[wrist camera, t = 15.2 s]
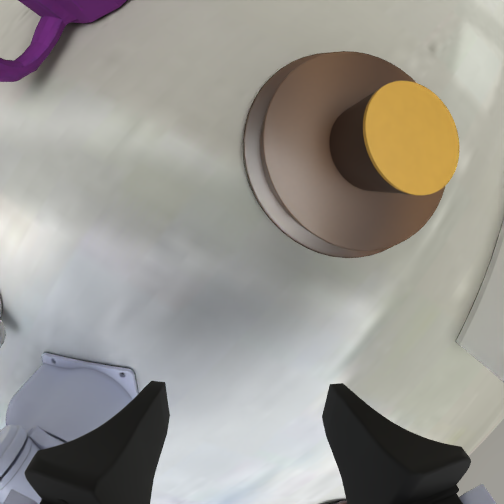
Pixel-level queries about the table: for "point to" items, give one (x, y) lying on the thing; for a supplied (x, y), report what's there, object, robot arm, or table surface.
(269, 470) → the table surface
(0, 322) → the cup
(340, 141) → the coffee pod
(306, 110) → the pod stand
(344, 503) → the crystal cluster
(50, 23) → the mug
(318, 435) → the table surface
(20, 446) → the robot arm
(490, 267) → the butter dish
